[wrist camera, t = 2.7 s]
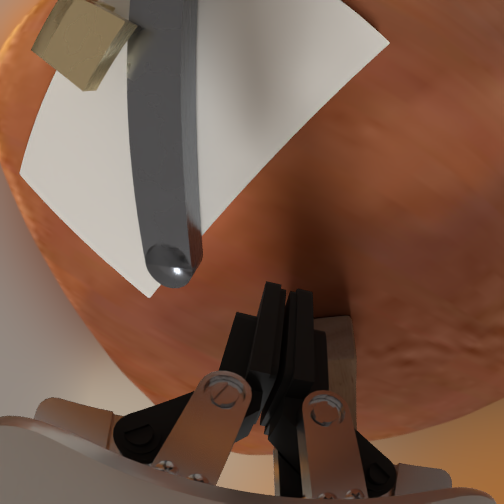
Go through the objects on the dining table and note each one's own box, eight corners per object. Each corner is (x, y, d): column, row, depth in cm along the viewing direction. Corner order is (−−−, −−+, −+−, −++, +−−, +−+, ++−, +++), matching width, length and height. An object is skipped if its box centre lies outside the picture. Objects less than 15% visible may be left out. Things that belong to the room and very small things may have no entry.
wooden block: (291, 318, 22) (248, 573, 6) (351, 312, 20) (356, 575, 5) (304, 387, 25) (279, 568, 10) (351, 383, 24) (346, 568, 9)
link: (144, -48, 9) (128, -59, 7) (214, -65, 8) (203, -80, 6) (153, 266, 19) (140, 283, 17) (214, 274, 19) (205, 292, 17)
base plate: (180, -72, 9) (172, -81, 7) (383, 47, 12) (390, 43, 10) (31, 168, 19) (19, 173, 18) (157, 287, 22) (149, 298, 21)
